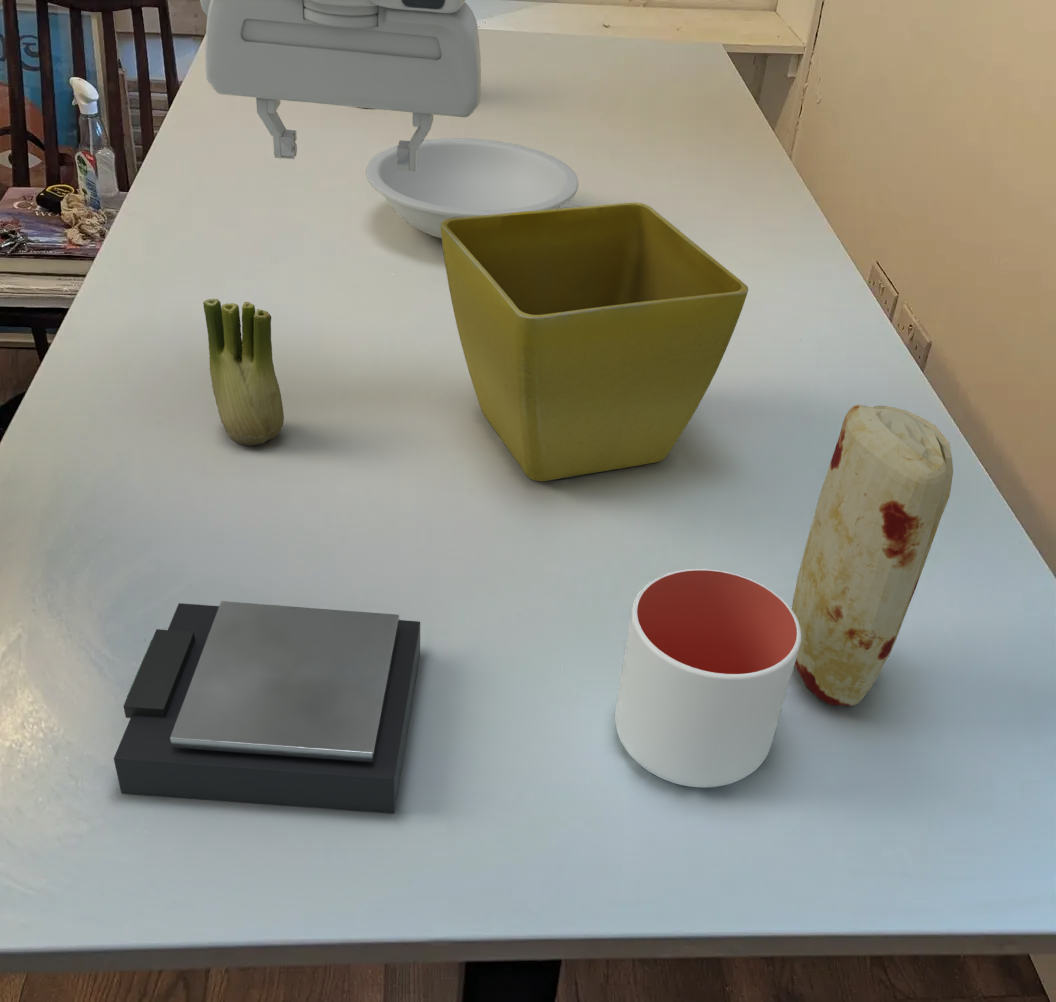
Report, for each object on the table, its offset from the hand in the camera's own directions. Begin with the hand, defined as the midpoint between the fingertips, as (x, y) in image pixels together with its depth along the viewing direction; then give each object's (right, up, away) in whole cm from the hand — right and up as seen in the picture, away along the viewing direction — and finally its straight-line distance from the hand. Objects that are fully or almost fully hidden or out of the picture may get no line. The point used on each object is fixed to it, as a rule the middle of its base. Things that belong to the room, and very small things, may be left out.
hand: (346, 162), depth 92 cm
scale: (-1, -42, -17) cm, 45 cm away
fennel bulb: (-9, -20, +8) cm, 24 cm away
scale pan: (0, -39, -19) cm, 44 cm away
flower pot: (+18, -20, +12) cm, 29 cm away
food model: (+35, -39, -10) cm, 54 cm away
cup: (+24, -43, -16) cm, 52 cm away
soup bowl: (+7, +9, +46) cm, 47 cm away
